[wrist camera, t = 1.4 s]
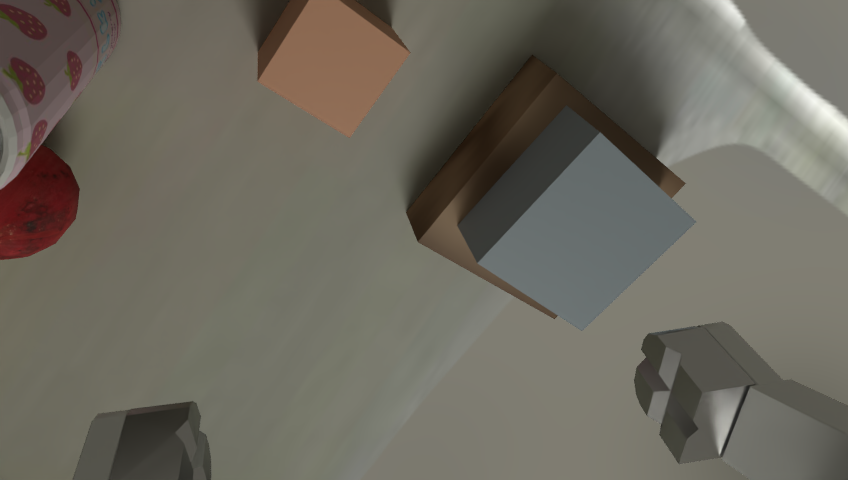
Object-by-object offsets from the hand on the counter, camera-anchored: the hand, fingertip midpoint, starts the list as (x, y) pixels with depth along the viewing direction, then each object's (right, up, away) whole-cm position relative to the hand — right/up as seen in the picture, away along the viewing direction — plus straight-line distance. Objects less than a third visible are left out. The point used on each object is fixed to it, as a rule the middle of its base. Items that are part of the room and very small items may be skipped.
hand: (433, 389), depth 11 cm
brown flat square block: (+7, +6, +29) cm, 30 cm away
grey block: (+8, +5, +26) cm, 27 cm away
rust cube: (-5, +13, +21) cm, 25 cm away
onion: (-21, +7, +21) cm, 30 cm away
